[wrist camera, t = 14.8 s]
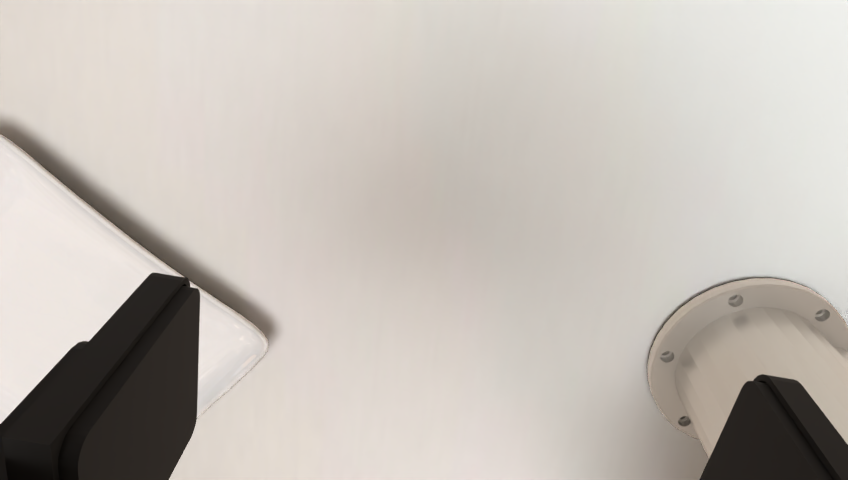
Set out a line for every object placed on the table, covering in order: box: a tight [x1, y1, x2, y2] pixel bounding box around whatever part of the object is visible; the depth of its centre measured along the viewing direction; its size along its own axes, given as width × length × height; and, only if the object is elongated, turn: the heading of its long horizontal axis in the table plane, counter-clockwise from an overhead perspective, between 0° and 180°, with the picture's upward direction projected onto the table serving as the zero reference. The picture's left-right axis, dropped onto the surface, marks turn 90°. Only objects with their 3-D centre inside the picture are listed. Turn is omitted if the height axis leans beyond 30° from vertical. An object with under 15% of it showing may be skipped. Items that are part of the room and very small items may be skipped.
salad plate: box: [0, 134, 269, 424], centre depth 44 cm, size 21×21×3 cm
